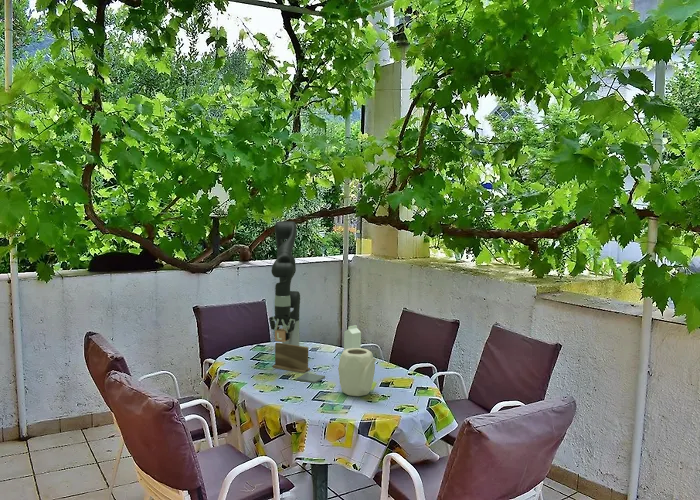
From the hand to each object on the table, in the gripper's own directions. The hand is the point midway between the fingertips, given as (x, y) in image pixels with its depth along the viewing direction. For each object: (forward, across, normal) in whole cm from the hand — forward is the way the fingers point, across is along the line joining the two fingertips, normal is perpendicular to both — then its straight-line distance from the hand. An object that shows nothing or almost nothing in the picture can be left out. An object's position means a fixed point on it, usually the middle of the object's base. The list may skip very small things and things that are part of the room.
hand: (282, 339), depth 284 cm
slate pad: (+17, -16, 0) cm, 23 cm away
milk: (+17, -26, -24) cm, 39 cm away
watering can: (+17, -44, +8) cm, 48 cm away
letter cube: (0, 0, 0) cm, 0 cm away
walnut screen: (+17, 0, -9) cm, 19 cm away
